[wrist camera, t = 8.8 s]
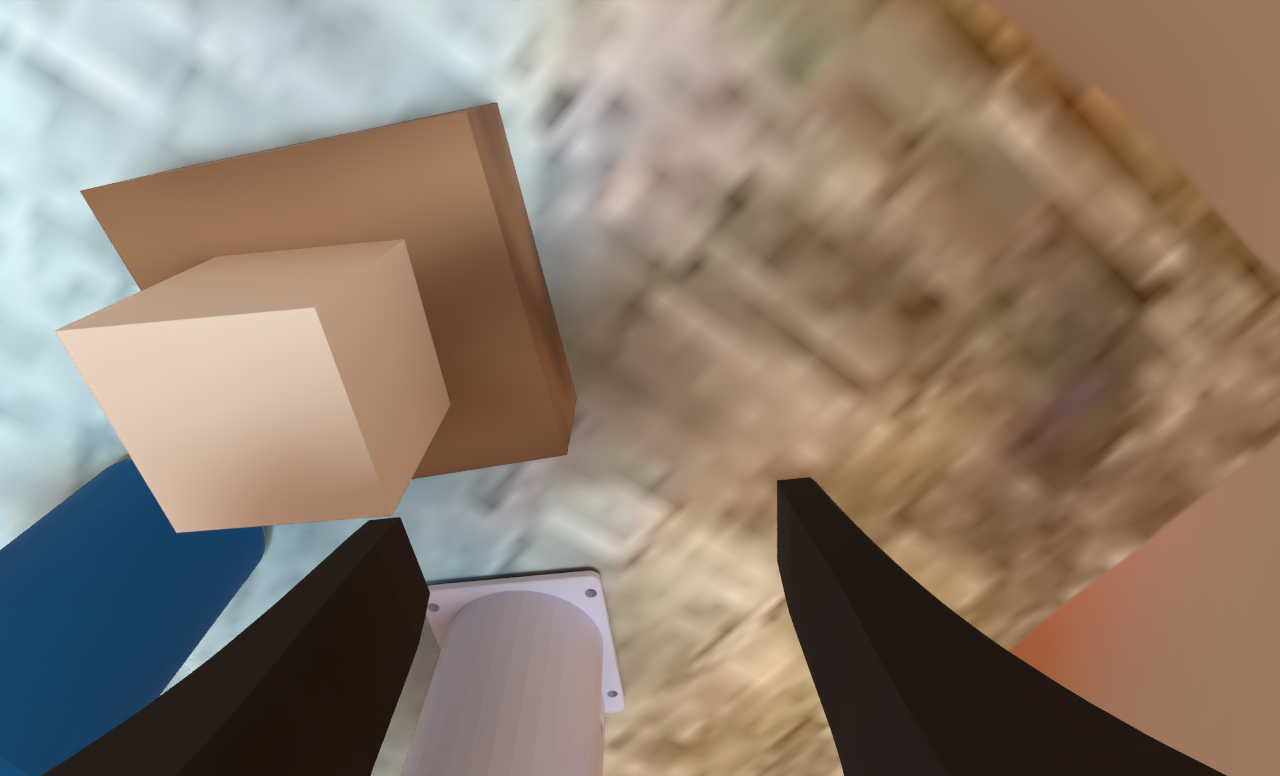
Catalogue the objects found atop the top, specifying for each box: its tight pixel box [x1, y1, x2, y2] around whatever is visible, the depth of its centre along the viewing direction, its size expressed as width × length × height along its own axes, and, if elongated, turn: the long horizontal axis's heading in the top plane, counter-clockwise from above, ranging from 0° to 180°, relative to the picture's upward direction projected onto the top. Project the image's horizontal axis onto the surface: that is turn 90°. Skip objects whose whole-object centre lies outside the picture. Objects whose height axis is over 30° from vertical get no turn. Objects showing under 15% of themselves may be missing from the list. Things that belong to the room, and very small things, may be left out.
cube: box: [55, 239, 451, 533], centre depth 14 cm, size 5×5×5 cm
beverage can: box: [0, 459, 266, 776], centre depth 19 cm, size 6×6×12 cm
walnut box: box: [80, 103, 577, 479], centre depth 18 cm, size 10×10×4 cm
